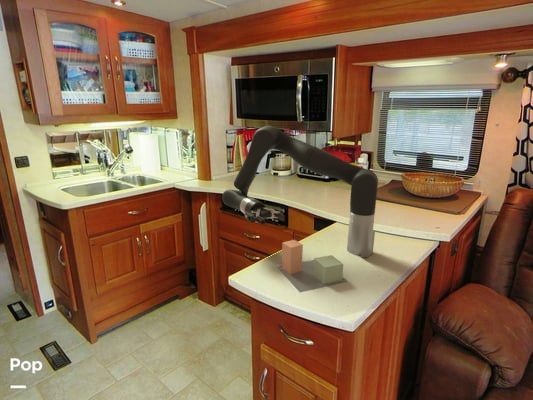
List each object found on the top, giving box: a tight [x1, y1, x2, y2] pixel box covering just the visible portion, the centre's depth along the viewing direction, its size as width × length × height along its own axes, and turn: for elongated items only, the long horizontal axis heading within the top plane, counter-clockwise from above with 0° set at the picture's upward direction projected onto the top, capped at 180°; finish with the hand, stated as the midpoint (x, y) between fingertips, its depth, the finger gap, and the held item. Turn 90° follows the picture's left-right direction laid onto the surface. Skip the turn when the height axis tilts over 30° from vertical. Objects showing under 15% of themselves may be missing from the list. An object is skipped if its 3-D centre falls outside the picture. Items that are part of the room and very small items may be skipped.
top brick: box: [281, 239, 304, 274], centre depth 119 cm, size 5×5×10 cm
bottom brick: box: [313, 254, 344, 284], centre depth 115 cm, size 7×7×6 cm
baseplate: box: [276, 259, 349, 293], centre depth 118 cm, size 18×18×1 cm
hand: (274, 220), depth 125 cm, fingers open, 8 cm apart
